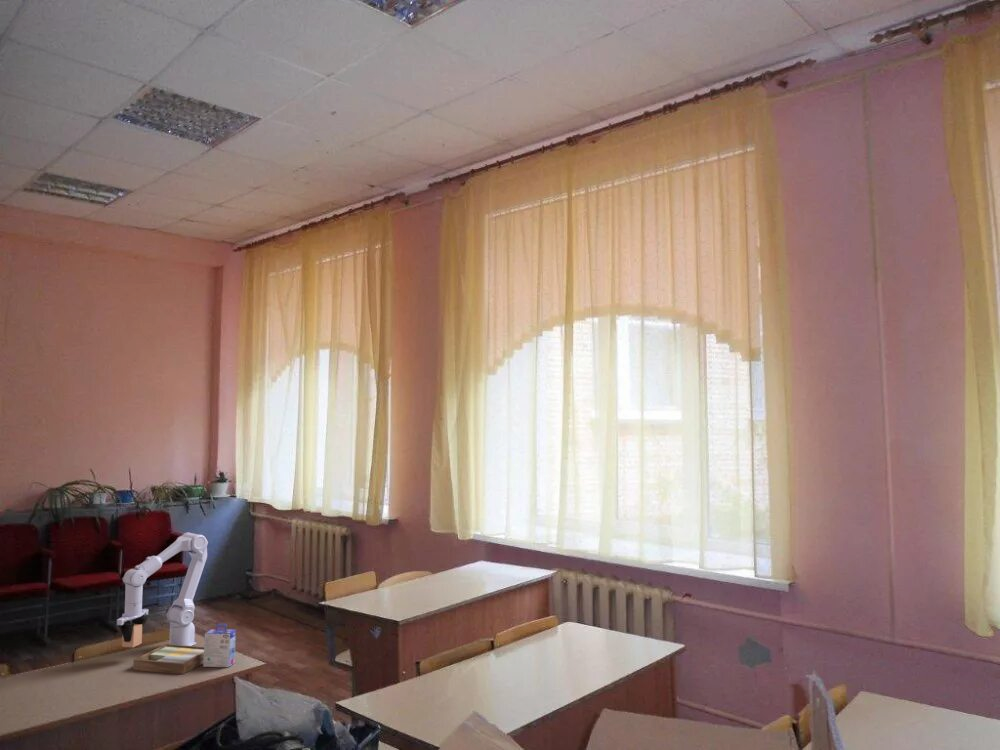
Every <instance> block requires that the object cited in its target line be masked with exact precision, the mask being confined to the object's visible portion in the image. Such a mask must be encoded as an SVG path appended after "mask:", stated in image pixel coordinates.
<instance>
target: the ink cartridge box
mask: <svg viewBox="0 0 1000 750" xmlns="http://www.w3.org/2000/svg"><path fill="white" fill-rule="evenodd" d="M220 626H223V627H220ZM227 627H228V624H227V623H217V625H216V628H215V629H209V630H208V631H206V632H205V633H204V642H203V647H204V661H203V663H202V664H203V665H202V667H204V668H213V667H214V668H230V667H231V666H232V665H234V664H235V663H236V641H237V640H236V639H237V638H236V633H237V630H236V629H227Z"/></svg>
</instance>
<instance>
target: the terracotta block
mask: <svg viewBox="0 0 1000 750" xmlns="http://www.w3.org/2000/svg"><path fill="white" fill-rule="evenodd" d="M121 635H122V637H121V646H122V648H124V647H125V648H135V647H136V646H140V645H141V644H142V643H143V642H142V641H143V640H142V639H143V629H142V624H134V627H133V630H132V636H131V641H130V642H124V638H123V634H121Z"/></svg>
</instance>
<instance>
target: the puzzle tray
mask: <svg viewBox="0 0 1000 750" xmlns="http://www.w3.org/2000/svg"><path fill="white" fill-rule="evenodd" d="M203 661H204V646H199V645H198V646H197V645H196V646H195V645H193V646H185V645H172V644H168V643H166V644H163V645H161V646H159V647H157V648H155V649H152V650H150V651H149V652H147V653H145V654H143V655H140V656H139V657H137V658H133V665H132V670H133V671H143V672H144V671H145V672H151V673H153V672H154V673H166V674H177V675H185V674H187V673H188V672H190V671H191V670H193V669H195V668H197V667H198V666H200V665H201V664H203Z"/></svg>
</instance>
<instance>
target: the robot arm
mask: <svg viewBox="0 0 1000 750" xmlns="http://www.w3.org/2000/svg"><path fill="white" fill-rule="evenodd" d="M208 544H209V541H208V540H207V538H206V536H204V535H203V534H197V533H192V532H189V531H188V532H184V533H182V535H180V536H178V537H177V538H176V540H175V541H173V543H171V544H170V545H169V546H168V547H167V548H165V549H164V550H163V551H161V552H160V553H159V554H157V555H151V556H147V557H146V558H145V560H143V562H141V563H140V564H137V565H135V566H134V568H130V569H128V570H127V571H125V573H124V575H123V577H122V582H123V584H124V585H125V588H124V589H125V594H124V595H125V597H124V598H125V599H124V613H122V615H121V617H119V618H118V619H116V626H118V628H119V629H120V631H121V635H123V638H124V642H130V641H131V636H132V630H133V627H134V624H142V630H143V628H144V626H145V624H146V622H147V620H148V616H147V615H149V608H143V591H144V590H143V589H144V588H143V587H144V585H145V583H146V582H147V578H149V577H150V576H152V575H153V574H154V573H156V572H157V571H159V570H161V568H162V566H163V563H164V562H166V561H168V560H169V559H171V558H172V557H174V556H175V555H177V554H178V553H180V552H183V551H184V552H187V553H188V554H189V555H190V558H191V560H190V562H189V565H188V569H187V571H186V575H185V577H184V579H183V583H182V586H181V588H180V592H179V594H178V597H177V598H176V599H174V601H173V602H172V605H171V606H170V608H169V609H168V610H167V611H166V618H167V620H168V621H169V642H168V643H169V644H172V645H185V646H195V645H197V642H195V635H196V628H195V625H194V623H193V621H194V618H195V609H196V607H195V604H194V597H195V595H196V591H197V589H198V586H199V583H200V579H201V576H202V573H203V571H204V567H205V564H206V562H207V559H208Z"/></svg>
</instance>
